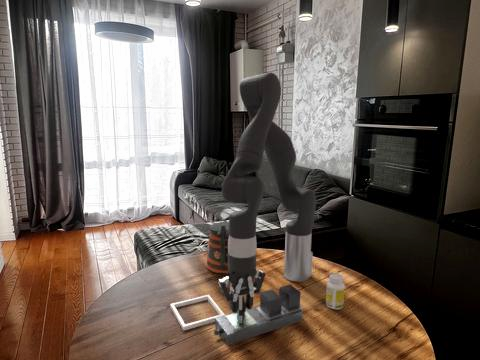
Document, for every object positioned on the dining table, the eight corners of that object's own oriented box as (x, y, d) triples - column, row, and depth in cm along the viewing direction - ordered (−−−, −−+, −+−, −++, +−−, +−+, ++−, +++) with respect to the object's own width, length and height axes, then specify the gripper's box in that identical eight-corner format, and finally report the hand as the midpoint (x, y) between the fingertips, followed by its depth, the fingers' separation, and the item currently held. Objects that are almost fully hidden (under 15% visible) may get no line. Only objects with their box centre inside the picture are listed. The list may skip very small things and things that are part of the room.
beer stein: (245, 280, 121) (246, 227, 117) (204, 281, 121) (204, 227, 117) (243, 258, 140) (243, 211, 136) (207, 258, 139) (207, 211, 135)
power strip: (289, 305, 106) (290, 281, 104) (305, 319, 99) (306, 293, 97) (209, 329, 93) (209, 302, 92) (221, 347, 86) (221, 318, 85)
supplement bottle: (344, 303, 107) (346, 274, 106) (341, 311, 103) (344, 282, 101) (327, 299, 110) (329, 270, 108) (323, 307, 105) (325, 278, 103)
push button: (250, 324, 90) (250, 290, 88) (230, 324, 90) (230, 289, 88) (249, 310, 96) (250, 277, 94) (231, 310, 96) (231, 277, 94)
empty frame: (208, 297, 109) (208, 294, 109) (225, 318, 98) (225, 314, 98) (170, 307, 104) (170, 304, 103) (183, 330, 93) (183, 326, 93)
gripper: (258, 241, 95) (257, 297, 99) (211, 250, 89) (212, 309, 92) (272, 251, 89) (270, 310, 92) (223, 261, 83) (223, 324, 86)
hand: (241, 309), depth 92 cm, fingers closed on push button, 3 cm apart
